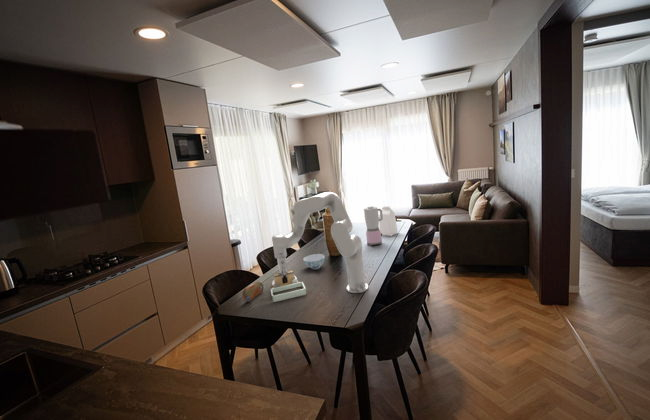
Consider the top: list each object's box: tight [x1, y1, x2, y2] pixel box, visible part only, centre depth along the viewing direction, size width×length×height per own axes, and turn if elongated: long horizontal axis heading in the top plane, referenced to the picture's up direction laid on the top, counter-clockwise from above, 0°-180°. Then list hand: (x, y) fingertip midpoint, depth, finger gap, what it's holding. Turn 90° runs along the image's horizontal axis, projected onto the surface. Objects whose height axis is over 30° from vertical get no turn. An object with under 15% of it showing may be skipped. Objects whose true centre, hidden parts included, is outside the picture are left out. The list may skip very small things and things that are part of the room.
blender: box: [363, 205, 383, 247], centre depth 253 cm, size 16×12×32 cm
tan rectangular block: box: [273, 269, 295, 286], centre depth 193 cm, size 3×12×7 cm, turn 104°
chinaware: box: [303, 253, 325, 271], centre depth 217 cm, size 15×15×8 cm
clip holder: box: [271, 275, 299, 288], centre depth 193 cm, size 12×16×4 cm
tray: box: [270, 281, 308, 303], centre depth 179 cm, size 12×20×3 cm, turn 105°
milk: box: [378, 205, 398, 237], centre depth 279 cm, size 12×12×26 cm
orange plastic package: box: [241, 281, 264, 303], centre depth 180 cm, size 15×3×8 cm, turn 148°
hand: (285, 281), depth 193 cm, fingers closed on tan rectangular block, 3 cm apart
